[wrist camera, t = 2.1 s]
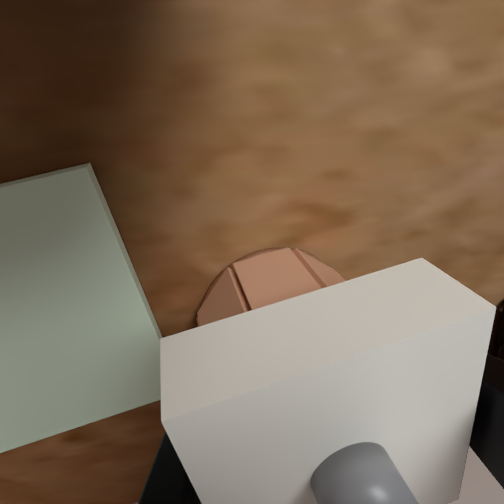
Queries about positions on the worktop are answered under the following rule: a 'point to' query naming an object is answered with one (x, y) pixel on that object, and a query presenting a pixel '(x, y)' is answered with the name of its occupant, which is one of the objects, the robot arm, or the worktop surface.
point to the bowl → (264, 282)
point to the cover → (332, 393)
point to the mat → (68, 311)
